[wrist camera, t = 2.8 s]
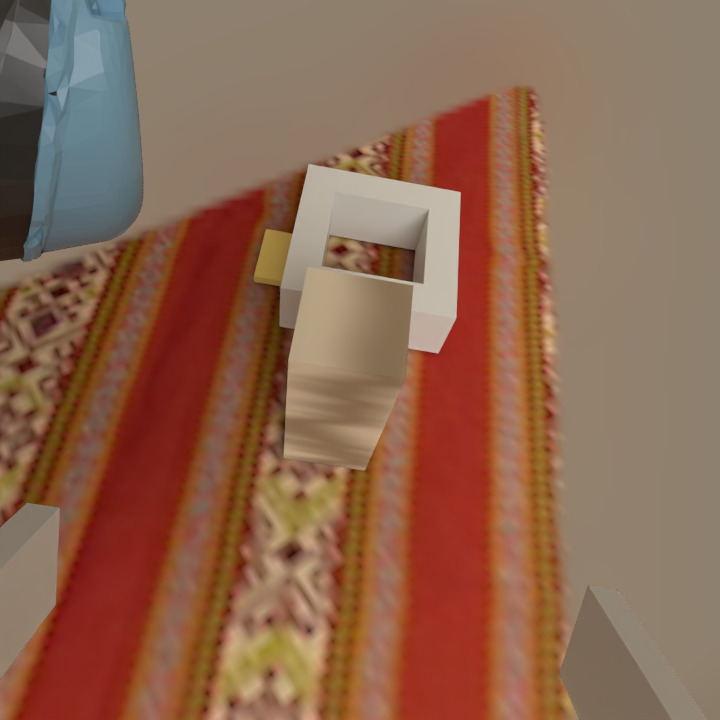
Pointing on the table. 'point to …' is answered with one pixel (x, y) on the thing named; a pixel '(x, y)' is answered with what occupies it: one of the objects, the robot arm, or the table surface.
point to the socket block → (377, 225)
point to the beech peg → (345, 366)
